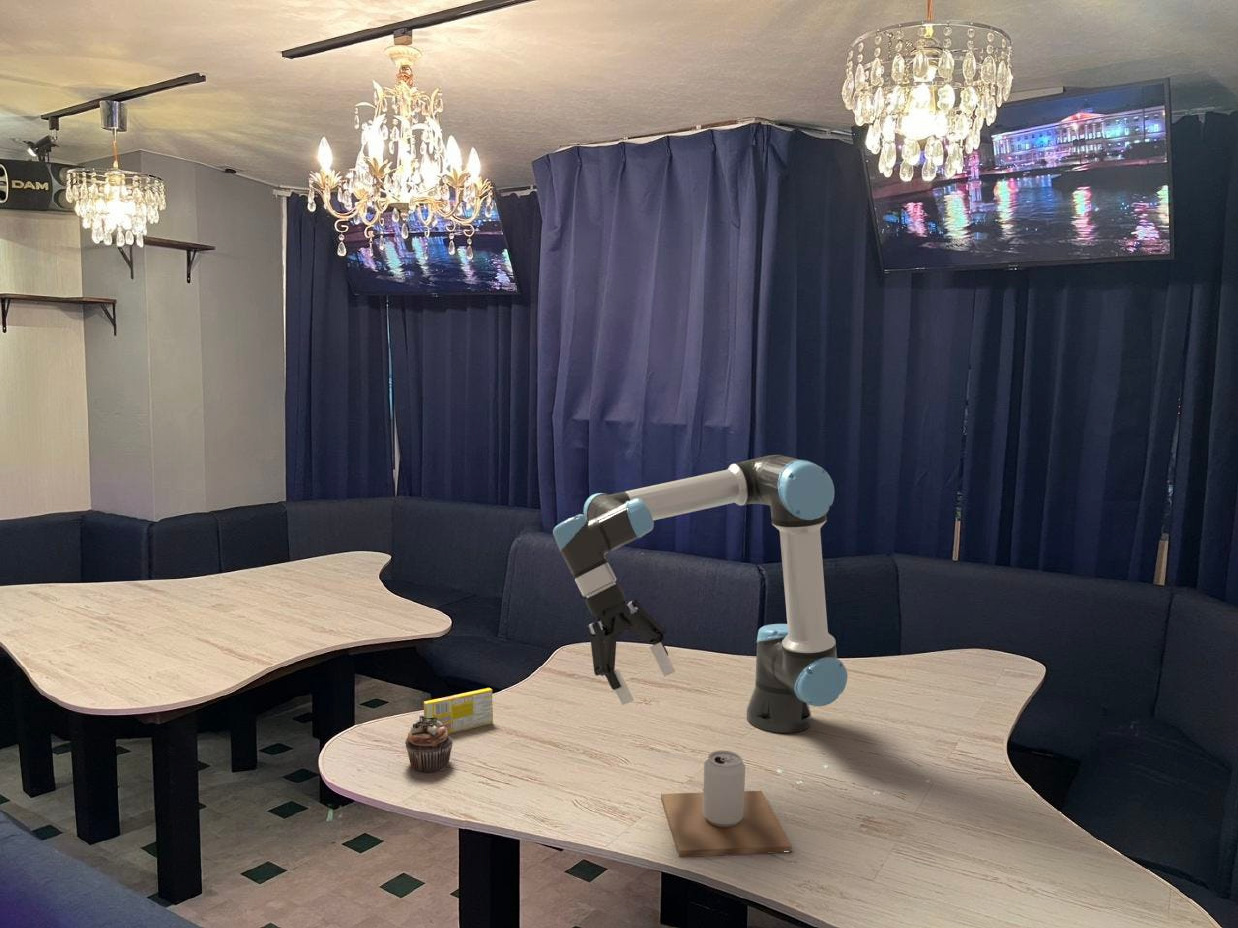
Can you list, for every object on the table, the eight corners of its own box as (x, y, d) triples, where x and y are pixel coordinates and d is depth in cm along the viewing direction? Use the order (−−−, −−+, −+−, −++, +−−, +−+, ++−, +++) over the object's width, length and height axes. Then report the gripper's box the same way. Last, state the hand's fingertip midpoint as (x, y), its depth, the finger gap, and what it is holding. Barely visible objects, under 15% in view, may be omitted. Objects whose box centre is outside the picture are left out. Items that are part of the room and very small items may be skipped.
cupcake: (450, 774, 184) (450, 727, 183) (402, 775, 184) (401, 728, 182) (455, 753, 194) (455, 709, 193) (409, 754, 193) (409, 709, 192)
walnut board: (761, 796, 178) (761, 790, 178) (791, 852, 159) (791, 845, 159) (660, 799, 176) (661, 793, 176) (678, 856, 156) (679, 850, 156)
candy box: (489, 720, 211) (489, 686, 210) (493, 724, 210) (493, 689, 209) (423, 735, 203) (423, 700, 202) (426, 739, 201) (426, 703, 200)
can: (699, 808, 171) (701, 747, 169) (738, 807, 171) (740, 747, 170) (706, 829, 163) (708, 766, 162) (747, 828, 164) (749, 765, 162)
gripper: (627, 576, 191) (673, 667, 189) (546, 618, 173) (596, 719, 170) (651, 564, 186) (698, 658, 184) (570, 606, 168) (622, 711, 166)
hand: (649, 688), depth 177 cm, fingers open, 13 cm apart
